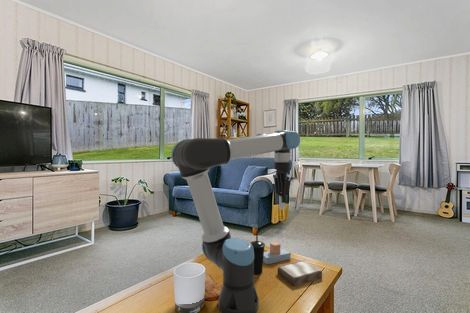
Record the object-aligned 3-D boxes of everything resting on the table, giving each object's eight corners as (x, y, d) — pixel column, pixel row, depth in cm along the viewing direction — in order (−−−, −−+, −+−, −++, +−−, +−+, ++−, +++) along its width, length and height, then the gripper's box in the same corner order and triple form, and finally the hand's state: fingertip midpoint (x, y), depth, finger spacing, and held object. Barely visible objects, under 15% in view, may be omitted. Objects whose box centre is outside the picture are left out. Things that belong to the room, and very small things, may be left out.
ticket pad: (293, 286, 104) (293, 277, 104) (277, 273, 115) (277, 266, 115) (322, 278, 110) (322, 270, 110) (304, 267, 121) (304, 259, 121)
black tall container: (246, 274, 115) (246, 231, 115) (252, 267, 121) (252, 227, 121) (261, 277, 111) (261, 234, 111) (267, 270, 118) (267, 229, 118)
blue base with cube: (266, 264, 124) (266, 248, 124) (259, 259, 130) (259, 243, 130) (290, 259, 130) (290, 243, 130) (282, 254, 137) (282, 239, 137)
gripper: (296, 161, 117) (296, 210, 117) (280, 161, 128) (280, 205, 129) (283, 162, 113) (283, 212, 114) (268, 161, 125) (268, 207, 125)
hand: (282, 208), depth 121 cm, fingers closed
